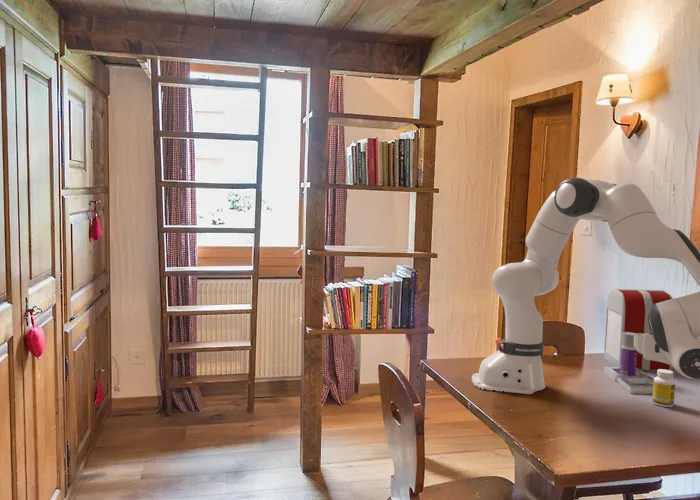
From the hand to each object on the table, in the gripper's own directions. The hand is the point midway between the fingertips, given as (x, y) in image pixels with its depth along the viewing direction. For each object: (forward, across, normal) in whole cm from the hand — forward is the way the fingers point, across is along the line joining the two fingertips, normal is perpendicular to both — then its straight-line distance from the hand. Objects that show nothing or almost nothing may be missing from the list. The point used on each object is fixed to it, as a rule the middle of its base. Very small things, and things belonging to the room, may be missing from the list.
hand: (673, 338), depth 147 cm
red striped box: (+56, +3, +20) cm, 59 cm away
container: (+35, +8, +20) cm, 41 cm away
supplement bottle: (+12, +1, +22) cm, 25 cm away
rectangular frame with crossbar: (+30, +6, +20) cm, 37 cm away
